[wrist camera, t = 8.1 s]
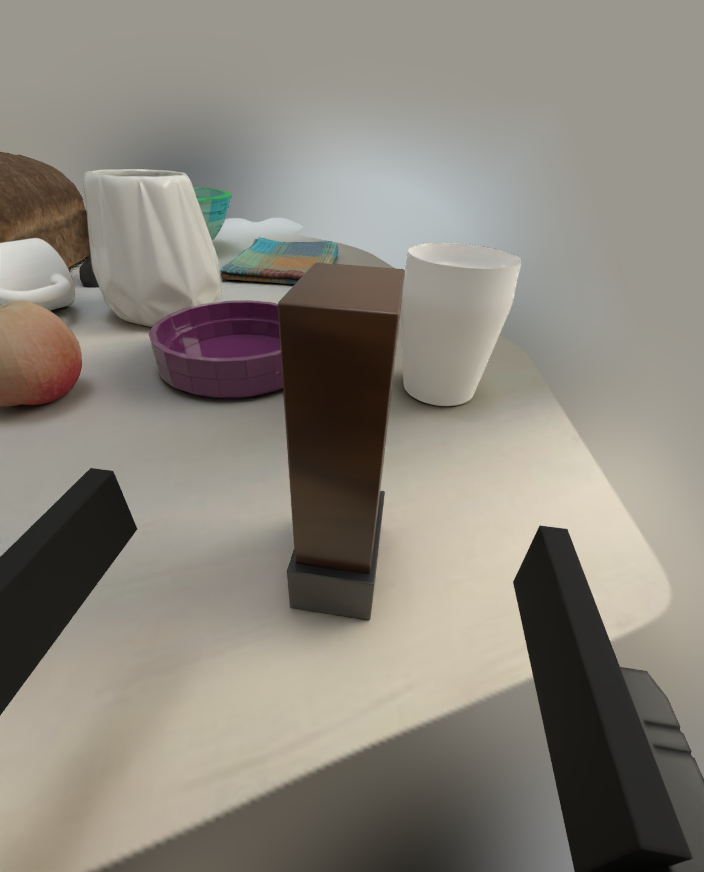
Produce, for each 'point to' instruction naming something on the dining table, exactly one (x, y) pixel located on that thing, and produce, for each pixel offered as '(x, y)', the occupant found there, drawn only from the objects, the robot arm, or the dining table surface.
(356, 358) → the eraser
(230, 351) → the bowl
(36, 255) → the mug
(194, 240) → the vase
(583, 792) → the robot arm
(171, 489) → the dining table surface
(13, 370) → the fruit
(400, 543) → the dining table surface
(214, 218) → the bowl
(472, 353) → the cup
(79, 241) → the bread
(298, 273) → the dish towel
